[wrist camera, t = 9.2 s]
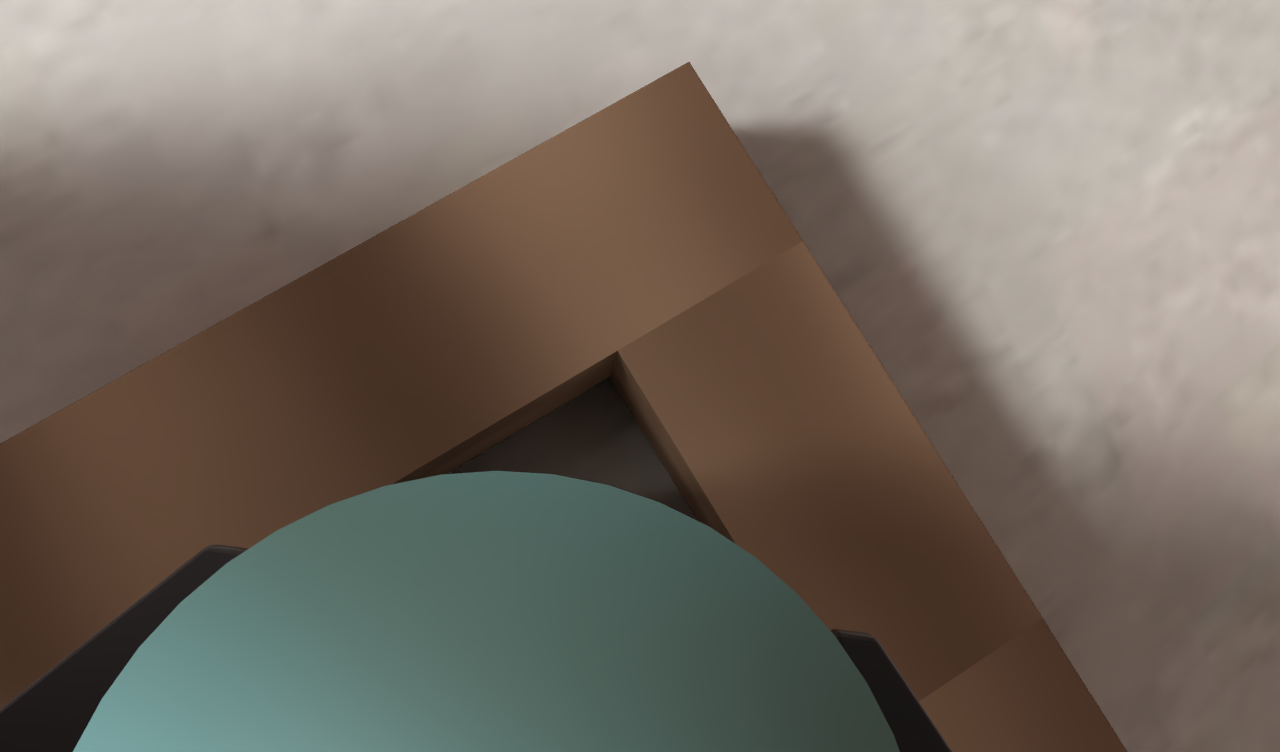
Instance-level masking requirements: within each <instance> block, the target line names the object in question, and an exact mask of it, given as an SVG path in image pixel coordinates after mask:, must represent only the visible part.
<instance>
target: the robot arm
mask: <svg viewBox="0 0 1280 752" xmlns="http://www.w3.org/2000/svg"><path fill="white" fill-rule="evenodd" d="M248 549H249V548H241V547H234V546H227V545H219V544H214V545H210V546H207V547H205V548H204V549H202V550H201V551H199V552H198V553H197V554H196V555H194V556H193V557H192V558H190V559H189V560H188V561H187V562H185V563H184V564H183V565H182V566H180V567H179V568H178V569H177V570H175V571H174V572H173V573H172V574H170V575H169V576H168V577H166V578H165V579H164V580H163V581H161V582H160V583H159V584H158V585H156V586H155V587H154V588H153V589H151V590H150V591H149V592H147V593H146V594H145V595H144V596H142V597H141V598H140V599H139V600H137V601H136V602H135V603H134V604H132V605H131V606H130V607H129V608H127V609H126V610H125V611H123V612H122V613H121V614H120V615H118V616H117V617H116V618H115V619H113V620H112V621H111V622H110V623H108V624H107V625H106V626H104V627H103V628H102V629H101V630H99V631H98V632H97V633H96V634H94V635H93V636H92V637H91V638H89V639H88V640H87V641H86V642H84V643H83V644H82V645H80V646H79V647H78V648H77V649H75V650H74V651H73V652H72V653H70V654H69V655H68V656H67V657H65V658H64V659H63V660H61V661H60V662H59V663H58V664H56V665H55V666H54V667H53V668H51V669H50V670H49V671H48V672H46V673H45V674H44V675H42V676H41V677H40V678H39V679H37V680H36V681H35V682H34V683H32V684H31V685H30V686H29V687H27V688H26V689H25V690H24V691H22V692H21V693H20V694H18V695H17V696H16V697H15V698H13V699H12V700H11V701H10V702H8V703H7V704H6V705H5V706H3V707H2V708H1V709H0V752H73V751H74V749H75V747H76V745H77V743H78V741H79V740H80V738H81V736H82V734H83V732H84V731H85V729H86V727H87V725H88V723H89V721H90V720H91V718H92V716H93V714H94V712H95V711H96V709H97V707H98V705H99V703H100V701H101V700H102V698H103V697H104V695H105V694H106V692H107V691H108V690H109V688H110V687H111V685H112V684H113V683H114V681H115V680H116V678H117V677H118V676H119V674H120V673H121V672H122V670H123V669H124V667H125V666H126V665H127V663H128V662H129V660H130V659H131V658H132V656H133V655H134V653H135V652H136V651H137V649H138V648H139V647H140V646H141V645H142V644H143V642H144V641H145V640H146V639H147V638H148V637H149V636H150V635H151V634H152V633H153V632H154V631H155V629H156V628H157V627H158V626H159V625H160V624H161V623H162V622H163V621H164V620H165V619H166V618H167V616H168V615H169V614H170V613H171V612H172V611H173V610H174V609H175V608H176V607H177V606H178V605H179V604H180V602H182V601H183V600H184V599H185V598H186V597H187V596H189V595H190V594H191V593H192V592H193V591H195V590H196V589H197V588H198V587H199V586H200V585H202V584H203V583H204V582H205V581H206V580H208V579H209V578H210V577H211V576H212V575H213V574H215V573H216V572H217V571H218V570H219V569H221V568H222V567H223V566H224V565H225V564H226V563H228V562H229V561H231V560H232V559H234V558H235V557H237V556H239V555H240V554H242V553H243V552H245V551H246V550H248ZM830 631H831V632H832V633H833V634H834V635H835V637H836V638H837V640H838V641H839V643H840V644H841V646H842V647H843V648H844V650H845V651H846V653H847V654H848V656H849V657H850V659H851V660H852V662H853V663H854V665H855V666H856V667H857V669H858V670H859V672H860V673H861V675H862V676H863V678H864V679H865V681H866V682H867V684H868V686H869V688H870V690H871V692H872V693H873V695H874V697H875V699H876V701H877V703H878V705H879V707H880V709H881V711H882V713H883V715H884V717H885V719H886V721H887V723H888V725H889V727H890V729H891V731H892V732H893V734H894V737H895V740H896V743H897V745H898V748H899V751H900V752H953V751H952V750H951V748H950V747H949V746H948V744H947V743H946V741H945V740H944V738H943V737H942V735H941V734H940V732H939V731H938V729H937V728H936V726H935V725H934V723H933V722H932V720H931V719H930V717H929V716H928V714H927V713H926V711H925V710H924V708H923V707H922V705H921V704H920V702H919V701H918V699H917V698H916V696H915V695H914V693H913V692H912V690H911V689H910V687H909V686H908V684H907V683H906V681H905V680H904V678H903V677H902V675H901V674H900V672H899V671H898V669H897V668H896V666H895V665H894V663H893V662H892V660H891V659H890V657H889V656H888V654H887V653H886V651H885V650H884V648H883V647H882V645H881V644H880V642H879V641H878V640H877V639H876V638H875V637H874V636H873V635H871V634H868V633H864V632H857V631H850V630H842V629H831V630H830Z"/></svg>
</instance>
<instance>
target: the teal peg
mask: <svg viewBox="0 0 1280 752" xmlns="http://www.w3.org/2000/svg"><path fill="white" fill-rule="evenodd" d="M73 752H900V751H899V748H898V745H897V743H896V740H895V737H894V734H893V732H892V731H891V729H890V727H889V725H888V723H887V721H886V719H885V717H884V715H883V713H882V711H881V709H880V707H879V705H878V703H877V701H876V699H875V697H874V695H873V693H872V692H871V690H870V688H869V686H868V684H867V682H866V681H865V679H864V678H863V676H862V675H861V673H860V672H859V670H858V669H857V667H856V666H855V665H854V663H853V662H852V660H851V659H850V657H849V656H848V654H847V653H846V651H845V650H844V648H843V647H842V646H841V644H840V643H839V641H838V640H837V638H836V637H835V635H834V634H833V633H832V632H831V631H830V630H829V629H828V628H827V626H826V625H825V624H824V623H823V622H822V621H821V620H820V619H819V617H818V616H817V615H816V614H815V613H814V612H813V611H812V610H811V608H810V607H809V606H808V605H807V604H806V603H805V602H804V601H803V599H802V598H801V597H800V596H799V595H798V594H797V593H796V592H795V591H794V590H793V589H791V588H790V587H789V586H788V585H787V584H786V583H785V582H783V581H782V580H781V579H780V578H779V577H778V576H776V575H775V574H774V573H773V572H772V571H771V570H770V569H768V568H767V567H766V566H765V565H764V564H763V563H762V562H760V561H759V560H758V559H757V558H756V557H754V556H753V555H751V554H750V553H748V552H747V551H745V550H744V549H742V548H741V547H739V546H738V545H736V544H735V543H733V542H732V541H730V540H729V539H727V538H726V537H724V536H723V535H721V534H720V533H718V532H717V531H715V530H714V529H712V528H711V527H709V526H707V525H705V524H703V523H701V522H699V521H697V520H695V519H693V518H691V517H689V516H687V515H685V514H683V513H681V512H678V511H676V510H674V509H672V508H670V507H668V506H666V505H664V504H662V503H660V502H657V501H654V500H651V499H648V498H645V497H642V496H639V495H636V494H633V493H630V492H627V491H624V490H622V489H619V488H616V487H613V486H610V485H606V484H601V483H596V482H591V481H586V480H580V479H575V478H570V477H565V476H560V475H555V474H543V473H526V472H509V471H486V472H472V473H458V474H443V475H437V476H432V477H427V478H422V479H417V480H412V481H407V482H402V483H397V484H392V485H387V486H383V487H380V488H377V489H374V490H371V491H368V492H366V493H363V494H360V495H357V496H354V497H351V498H348V499H345V500H342V501H339V502H336V503H333V504H330V505H328V506H326V507H324V508H322V509H320V510H318V511H316V512H314V513H312V514H310V515H308V516H305V517H303V518H301V519H299V520H297V521H295V522H293V523H291V524H289V525H287V526H285V527H283V528H281V529H279V530H277V531H275V532H274V533H272V534H271V535H269V536H268V537H266V538H265V539H263V540H262V541H260V542H258V543H257V544H255V545H254V546H252V547H251V548H249V549H248V550H246V551H245V552H243V553H242V554H240V555H239V556H237V557H235V558H234V559H232V560H231V561H229V562H228V563H226V564H225V565H224V566H223V567H222V568H221V569H219V570H218V571H217V572H216V573H215V574H213V575H212V576H211V577H210V578H209V579H208V580H206V581H205V582H204V583H203V584H202V585H200V586H199V587H198V588H197V589H196V590H195V591H193V592H192V593H191V594H190V595H189V596H187V597H186V598H185V599H184V600H183V601H182V602H180V604H179V605H178V606H177V607H176V608H175V609H174V610H173V611H172V612H171V613H170V614H169V615H168V616H167V618H166V619H165V620H164V621H163V622H162V623H161V624H160V625H159V626H158V627H157V628H156V629H155V631H154V632H153V633H152V634H151V635H150V636H149V637H148V638H147V639H146V640H145V641H144V642H143V644H142V645H141V646H140V647H139V648H138V649H137V651H136V652H135V653H134V655H133V656H132V658H131V659H130V660H129V662H128V663H127V665H126V666H125V667H124V669H123V670H122V672H121V673H120V674H119V676H118V677H117V678H116V680H115V681H114V683H113V684H112V685H111V687H110V688H109V690H108V691H107V692H106V694H105V695H104V697H103V698H102V700H101V701H100V703H99V705H98V707H97V709H96V711H95V712H94V714H93V716H92V718H91V720H90V721H89V723H88V725H87V727H86V729H85V731H84V732H83V734H82V736H81V738H80V740H79V741H78V743H77V745H76V747H75V749H74V751H73Z"/></svg>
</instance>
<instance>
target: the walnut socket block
mask: <svg viewBox="0 0 1280 752" xmlns="http://www.w3.org/2000/svg"><path fill="white" fill-rule="evenodd" d="M609 377H610V378H611V380H612V381H613V383H614V385H615V386H616V388H617V390H618V391H619V393H620V395H621V396H622V398H623V399H624V401H625V403H626V404H627V406H628V408H629V409H630V411H631V413H632V414H633V416H634V418H635V419H636V421H637V422H638V424H639V426H640V427H641V429H642V431H643V432H644V434H645V436H646V437H647V439H648V441H649V442H650V444H651V445H652V447H653V449H654V450H655V452H656V454H657V455H658V457H659V459H660V460H661V462H662V464H663V465H664V467H665V468H666V470H667V472H668V473H669V475H670V477H671V478H672V480H673V482H674V483H675V485H676V486H677V488H678V490H679V491H680V493H681V495H682V496H683V498H684V500H685V501H686V503H687V505H688V506H689V508H690V509H691V511H692V513H693V514H694V516H695V518H696V519H697V521H699V522H701V523H703V524H705V525H707V526H709V527H711V528H712V529H714V530H715V531H717V532H718V533H720V534H721V535H723V536H724V537H726V538H727V539H729V540H730V541H732V542H733V543H735V544H736V545H738V546H739V547H741V548H742V549H744V550H745V551H747V552H748V553H750V554H751V555H753V556H754V557H756V558H757V559H758V560H759V561H760V562H762V563H763V564H764V565H765V566H766V567H767V568H768V569H770V570H771V571H772V572H773V573H774V574H775V575H776V576H778V577H779V578H780V579H781V580H782V581H783V582H785V583H786V584H787V585H788V586H789V587H790V588H791V589H793V590H794V591H795V592H796V593H797V594H798V595H799V596H800V597H801V598H802V599H803V601H804V602H805V603H806V604H807V605H808V606H809V607H810V608H811V610H812V611H813V612H814V613H815V614H816V615H817V616H818V617H819V619H820V620H821V621H822V622H823V623H824V624H825V625H826V626H827V628H828V629H829V630H831V629H842V630H850V631H857V632H864V633H868V634H871V635H873V636H874V637H875V638H876V639H877V640H878V641H879V642H880V644H881V645H882V647H883V648H884V650H885V651H886V653H887V654H888V656H889V657H890V659H891V660H892V662H893V663H894V665H895V666H896V668H897V669H898V671H899V672H900V674H901V675H902V677H903V678H904V680H905V681H906V683H907V684H908V686H909V687H910V689H911V690H912V692H913V693H914V695H915V696H916V698H917V699H918V701H919V702H920V704H921V705H922V707H923V708H924V710H925V711H926V713H927V714H928V716H929V717H930V719H931V720H932V722H933V723H934V725H935V726H936V728H937V729H938V731H939V732H940V734H941V735H942V737H943V738H944V740H945V741H946V743H947V744H948V746H949V747H950V748H951V750H952V751H953V752H1127V751H1126V749H1125V747H1124V746H1123V744H1122V743H1121V741H1120V739H1119V738H1118V736H1117V735H1116V733H1115V732H1114V730H1113V728H1112V727H1111V725H1110V724H1109V722H1108V721H1107V719H1106V717H1105V716H1104V714H1103V713H1102V711H1101V710H1100V708H1099V706H1098V705H1097V703H1096V702H1095V700H1094V699H1093V697H1092V695H1091V694H1090V692H1089V691H1088V689H1087V688H1086V686H1085V684H1084V683H1083V681H1082V680H1081V678H1080V676H1079V675H1078V673H1077V672H1076V670H1075V669H1074V667H1073V665H1072V664H1071V662H1070V661H1069V659H1068V658H1067V656H1066V654H1065V653H1064V651H1063V650H1062V648H1061V647H1060V645H1059V643H1058V642H1057V640H1056V639H1055V637H1054V636H1053V634H1052V632H1051V631H1050V629H1049V628H1048V626H1047V625H1046V623H1045V621H1044V620H1043V618H1042V617H1041V615H1040V613H1039V612H1038V610H1037V609H1036V607H1035V606H1034V604H1033V602H1032V601H1031V599H1030V598H1029V596H1028V595H1027V593H1026V591H1025V590H1024V588H1023V587H1022V585H1021V584H1020V582H1019V580H1018V579H1017V577H1016V576H1015V574H1014V573H1013V571H1012V569H1011V568H1010V566H1009V565H1008V563H1007V562H1006V560H1005V558H1004V557H1003V555H1002V554H1001V552H1000V551H999V549H998V547H997V546H996V544H995V543H994V541H993V539H992V538H991V536H990V535H989V533H988V532H987V530H986V528H985V527H984V525H983V524H982V522H981V521H980V519H979V517H978V516H977V514H976V513H975V511H974V510H973V508H972V506H971V505H970V503H969V502H968V500H967V499H966V497H965V495H964V494H963V492H962V491H961V489H960V488H959V486H958V484H957V483H956V481H955V480H954V478H953V476H952V475H951V473H950V472H949V470H948V469H947V467H946V465H945V464H944V462H943V461H942V459H941V458H940V456H939V454H938V453H937V451H936V450H935V448H934V447H933V445H932V443H931V442H930V440H929V439H928V437H927V436H926V434H925V432H924V431H923V429H922V428H921V426H920V425H919V423H918V421H917V420H916V418H915V417H914V415H913V414H912V412H911V410H910V409H909V407H908V406H907V404H906V402H905V401H904V399H903V398H902V396H901V395H900V393H899V391H898V390H897V388H896V387H895V385H894V384H893V382H892V380H891V379H890V377H889V376H888V374H887V373H886V371H885V369H884V368H883V366H882V365H881V363H880V362H879V360H878V358H877V357H876V355H875V354H874V352H873V351H872V349H871V347H870V346H869V344H868V343H867V341H866V339H865V338H864V336H863V335H862V333H861V332H860V330H859V328H858V327H857V325H856V324H855V322H854V321H853V319H852V317H851V316H850V314H849V313H848V311H847V310H846V308H845V306H844V305H843V303H842V302H841V300H840V299H839V297H838V295H837V294H836V292H835V291H834V289H833V288H832V286H831V284H830V283H829V281H828V280H827V278H826V276H825V275H824V273H823V272H822V270H821V269H820V267H819V265H818V264H817V262H816V261H815V259H814V258H813V256H812V254H811V253H810V251H809V250H808V248H807V247H806V245H805V243H804V242H803V240H802V239H801V237H800V236H799V234H798V232H797V231H796V229H795V228H794V226H793V225H792V223H791V221H790V220H789V218H788V217H787V215H786V214H785V212H784V210H783V209H782V207H781V206H780V204H779V202H778V201H777V199H776V198H775V196H774V195H773V193H772V191H771V190H770V188H769V187H768V185H767V184H766V182H765V180H764V179H763V177H762V176H761V174H760V173H759V171H758V169H757V168H756V166H755V165H754V163H753V162H752V160H751V158H750V157H749V155H748V154H747V152H746V151H745V149H744V147H743V146H742V144H741V143H740V141H739V139H738V138H737V136H736V135H735V133H734V132H733V130H732V128H731V127H730V125H729V124H728V122H727V121H726V119H725V117H724V116H723V114H722V113H721V111H720V110H719V108H718V106H717V105H716V103H715V102H714V100H713V99H712V97H711V95H710V94H709V92H708V91H707V89H706V88H705V86H704V84H703V83H702V81H701V80H700V78H699V77H698V75H697V73H696V72H695V70H694V69H693V67H692V65H691V64H690V62H688V63H686V64H684V65H682V66H681V67H679V68H677V69H675V70H673V71H672V72H670V73H668V74H666V75H664V76H663V77H661V78H659V79H657V80H655V81H654V82H652V83H650V84H648V85H646V86H645V87H643V88H641V89H639V90H637V91H636V92H634V93H632V94H630V95H628V96H627V97H625V98H623V99H621V100H619V101H617V102H616V103H614V104H612V105H610V106H608V107H607V108H605V109H603V110H601V111H599V112H598V113H596V114H594V115H592V116H590V117H589V118H587V119H585V120H583V121H581V122H580V123H578V124H576V125H574V126H572V127H571V128H569V129H567V130H565V131H563V132H562V133H560V134H558V135H556V136H554V137H553V138H551V139H549V140H547V141H545V142H544V143H542V144H540V145H538V146H536V147H535V148H533V149H531V150H529V151H527V152H526V153H524V154H522V155H520V156H518V157H517V158H515V159H513V160H511V161H509V162H508V163H506V164H504V165H502V166H500V167H499V168H497V169H495V170H493V171H491V172H490V173H488V174H486V175H484V176H482V177H480V178H479V179H477V180H475V181H473V182H471V183H470V184H468V185H466V186H464V187H462V188H461V189H459V190H457V191H455V192H453V193H452V194H450V195H448V196H446V197H444V198H443V199H441V200H439V201H437V202H435V203H434V204H432V205H430V206H428V207H426V208H425V209H423V210H421V211H419V212H417V213H416V214H414V215H412V216H410V217H408V218H407V219H405V220H403V221H401V222H399V223H398V224H396V225H394V226H392V227H390V228H389V229H387V230H385V231H383V232H381V233H380V234H378V235H376V236H374V237H372V238H371V239H369V240H367V241H365V242H363V243H362V244H360V245H358V246H356V247H354V248H352V249H351V250H349V251H347V252H345V253H343V254H342V255H340V256H338V257H336V258H334V259H333V260H331V261H329V262H327V263H325V264H324V265H322V266H320V267H318V268H316V269H315V270H313V271H311V272H309V273H307V274H306V275H304V276H302V277H300V278H298V279H297V280H295V281H293V282H291V283H289V284H288V285H286V286H284V287H282V288H280V289H279V290H277V291H275V292H273V293H271V294H270V295H268V296H266V297H264V298H262V299H261V300H259V301H257V302H255V303H253V304H252V305H250V306H248V307H246V308H244V309H243V310H241V311H239V312H237V313H235V314H234V315H232V316H230V317H228V318H226V319H225V320H223V321H221V322H219V323H217V324H215V325H214V326H212V327H210V328H208V329H206V330H205V331H203V332H201V333H199V334H197V335H196V336H194V337H192V338H190V339H188V340H187V341H185V342H183V343H181V344H179V345H178V346H176V347H174V348H172V349H170V350H169V351H167V352H165V353H163V354H161V355H160V356H158V357H156V358H154V359H152V360H151V361H149V362H147V363H145V364H143V365H142V366H140V367H138V368H136V369H134V370H133V371H131V372H129V373H127V374H125V375H124V376H122V377H120V378H118V379H116V380H115V381H113V382H111V383H109V384H107V385H106V386H104V387H102V388H100V389H98V390H97V391H95V392H93V393H91V394H89V395H88V396H86V397H84V398H82V399H80V400H78V401H77V402H75V403H73V404H71V405H69V406H68V407H66V408H64V409H62V410H60V411H59V412H57V413H55V414H53V415H51V416H50V417H48V418H46V419H44V420H42V421H41V422H39V423H37V424H35V425H33V426H32V427H30V428H28V429H26V430H24V431H23V432H21V433H19V434H17V435H15V436H14V437H12V438H10V439H8V440H6V441H5V442H3V443H1V444H0V709H1V708H2V707H3V706H5V705H6V704H7V703H8V702H10V701H11V700H12V699H13V698H15V697H16V696H17V695H18V694H20V693H21V692H22V691H24V690H25V689H26V688H27V687H29V686H30V685H31V684H32V683H34V682H35V681H36V680H37V679H39V678H40V677H41V676H42V675H44V674H45V673H46V672H48V671H49V670H50V669H51V668H53V667H54V666H55V665H56V664H58V663H59V662H60V661H61V660H63V659H64V658H65V657H67V656H68V655H69V654H70V653H72V652H73V651H74V650H75V649H77V648H78V647H79V646H80V645H82V644H83V643H84V642H86V641H87V640H88V639H89V638H91V637H92V636H93V635H94V634H96V633H97V632H98V631H99V630H101V629H102V628H103V627H104V626H106V625H107V624H108V623H110V622H111V621H112V620H113V619H115V618H116V617H117V616H118V615H120V614H121V613H122V612H123V611H125V610H126V609H127V608H129V607H130V606H131V605H132V604H134V603H135V602H136V601H137V600H139V599H140V598H141V597H142V596H144V595H145V594H146V593H147V592H149V591H150V590H151V589H153V588H154V587H155V586H156V585H158V584H159V583H160V582H161V581H163V580H164V579H165V578H166V577H168V576H169V575H170V574H172V573H173V572H174V571H175V570H177V569H178V568H179V567H180V566H182V565H183V564H184V563H185V562H187V561H188V560H189V559H190V558H192V557H193V556H194V555H196V554H197V553H198V552H199V551H201V550H202V549H204V548H205V547H207V546H210V545H214V544H219V545H227V546H234V547H241V548H251V547H252V546H254V545H255V544H257V543H258V542H260V541H262V540H263V539H265V538H266V537H268V536H269V535H271V534H272V533H274V532H275V531H277V530H279V529H281V528H283V527H285V526H287V525H289V524H291V523H293V522H295V521H297V520H299V519H301V518H303V517H305V516H308V515H310V514H312V513H314V512H316V511H318V510H320V509H322V508H324V507H326V506H328V505H330V504H333V503H336V502H339V501H342V500H345V499H348V498H351V497H354V496H357V495H360V494H363V493H366V492H368V491H371V490H374V489H377V488H380V487H383V486H387V485H392V484H397V483H402V482H407V481H412V480H417V479H422V478H427V477H432V476H437V475H443V474H447V473H449V472H450V471H452V470H454V469H456V468H457V467H459V466H461V465H462V464H464V463H466V462H467V461H469V460H471V459H472V458H474V457H476V456H477V455H479V454H481V453H482V452H484V451H486V450H487V449H489V448H491V447H493V446H494V445H496V444H498V443H499V442H501V441H503V440H504V439H506V438H508V437H509V436H511V435H513V434H514V433H516V432H518V431H519V430H521V429H523V428H524V427H526V426H528V425H530V424H531V423H533V422H535V421H536V420H538V419H540V418H541V417H543V416H545V415H546V414H548V413H550V412H551V411H553V410H555V409H556V408H558V407H560V406H561V405H563V404H565V403H567V402H568V401H570V400H572V399H573V398H575V397H577V396H578V395H580V394H582V393H583V392H585V391H587V390H588V389H590V388H592V387H593V386H595V385H597V384H598V383H600V382H602V381H604V380H605V379H607V378H609Z"/></svg>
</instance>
